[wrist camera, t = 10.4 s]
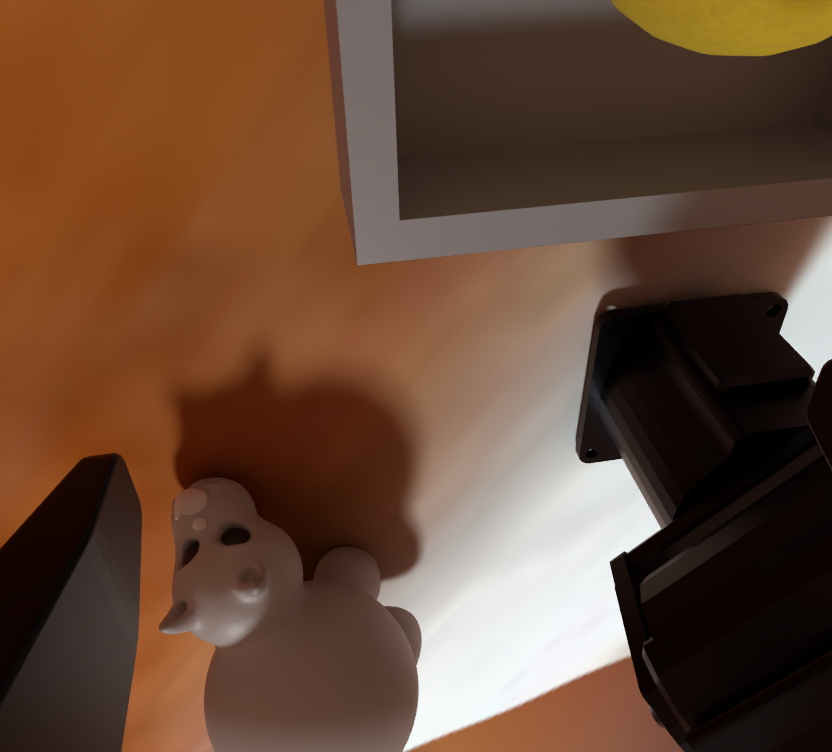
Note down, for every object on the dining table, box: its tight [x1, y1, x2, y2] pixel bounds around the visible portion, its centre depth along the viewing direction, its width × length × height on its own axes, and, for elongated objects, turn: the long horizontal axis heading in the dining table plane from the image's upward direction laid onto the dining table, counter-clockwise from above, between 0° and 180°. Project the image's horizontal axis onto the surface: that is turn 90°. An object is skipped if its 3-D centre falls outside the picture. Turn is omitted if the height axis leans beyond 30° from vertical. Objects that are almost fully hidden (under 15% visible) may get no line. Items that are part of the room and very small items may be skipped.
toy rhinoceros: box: [159, 477, 421, 752], centre depth 25 cm, size 7×12×8 cm, turn 24°
